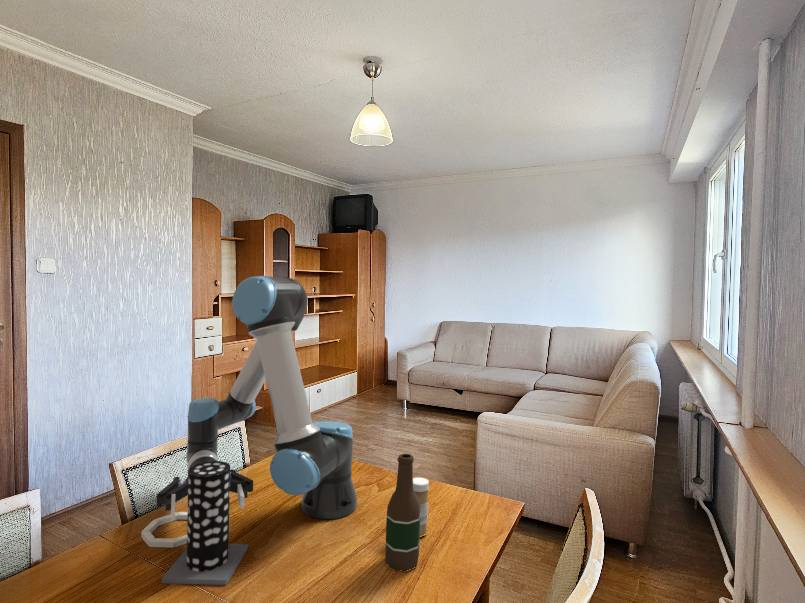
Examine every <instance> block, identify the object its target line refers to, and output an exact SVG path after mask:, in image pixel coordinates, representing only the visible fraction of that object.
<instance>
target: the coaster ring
mask: <svg viewBox="0 0 805 603" xmlns="http://www.w3.org/2000/svg"><path fill="white" fill-rule="evenodd" d="M187 517H188V511H179V512H178V511H175V520H171V513H169V514H166V515H164V516H161V517H158V518H155V519H153V520H152V521H151V522H150V523H149V524H148V525H146V527H145V528H144V529H142V530H141V533H140V534H141V535H140V536H141V539H142V540H143V541H144V542H145V544H146V545H147V546H148V547H150V548H170V549H171V548H177V547H179V546H180V547H181V546H183V545H187V534H185V535H181V536H179V537H175V538H158V537H155V536H154V535H153V532H154V531H155V530H156V529H157V528H158V527H159V526H162V525H165V524H168V523H171V522H175V521H177V520H185V521H186V520H187Z"/></svg>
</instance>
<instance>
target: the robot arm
mask: <svg viewBox="0 0 805 603" xmlns="http://www.w3.org/2000/svg"><path fill="white" fill-rule="evenodd" d="M308 301H309V300H308V293H307V291H306V289H305V287H304V286H303V284H301V282H299V281H298V280H296V279H294V278H291V277H285V276H282V277H279V276H278V277H277V276H268V275H259V276H250V277H248V278H246V279H244V280H242V281H240V283H239V284H238V285H237V287H236V289H235V290H234V292H233V296H232V301H231V302H232V303H231V304H232V310H233V313H234V316H235V317H236V318H237V319H238V320H239V321H240V322H241V323H242V324H245V325H246V328H247V332H248V335H249V336H251V337H253V338H255V340H256V341H255V344H254V345H253V347H252V349H251V351H250V352H249V355H248V356H247V359H246V361H245V363H244V365H243V366H242V368H241V370H240V372H239V374H238V376H237V378H236V380H235V381H234V384H233V385H232V388H231V389H230V391H229V393H228V395H227V397H226V398H225V399H223V400H220V401H218V399H216V398H213V397H203V398H195V399H193V400H191V401H190V402H189V405H188V411H187V448H186V449H187V450H186V457H185V458H186V463H187V471H188V470H189V469H190V468H191V467H192V466H194V465H196V464H199V463H203V462H209V461H219V458H218V437H219V430H222V429H224V428H226V427H227V428H228V427H230V426H232V425H235V424H239V423H241V422H243V421H246V420H247V419H248V418H250V417H252V416H253V415H254V414H255V412H256V406H257V405H256V398H257V397H258V395H259V393H260V391H261V389H262V387H263V386H264V384H265V382H266V385H267V390H268V394H269V399H270V403H271V407H272V408H271V409H272V411H273V416H274V420H275V425H276V430H277V435H276V436H275V439H274V440H273V445H274V450H275V454H274V455H273V456H272V458H271V461H270V463H269V472H270V473H269V474H270V476H271V479H272V481H273V483H274V484H275V485H276V487H277V488H278V489H279V490H282V491H283V492H284V493H285V494H288V495H290V496H302V498H301V510H302V512H303V513H304V514H305V515H307V516H309V517H311V518H315V519H318V520H334V519H340V518H343V517H347V516H348V515H350V514H352V513H354V512H355V511H356V509H357V507H358V497H357V496H358V495H357V493H356V488H355V485H354V482H353V479H352V474H353V473H352V471H353V470H352V469H353V442H354V437H353V436H354V435H353V427H352V426H351V425H350V424H348V423H345V422H341V421H331V420H330V421H329V420H324V421H323V420H322V421H314V422H313V420H312V416H311V414H312V413H311V411H310V407H309V402H308V398H307V393H306V390H305V385H304V381H303V376H302V373H301V368H300V365H299V360H298V356H297V351H296V348H295V343H294V339H293V334H292V333H294V332H297V330H298V329H299V327H300V325H301V324H302V322H303V319H304V317H305V315H306V312H307V308H308ZM253 491H254V480H253V479H252V478H249V477H247V476H245V475H242V474H240V473H239V472H237V471H236V470H235V469H230V493H235V494H236V497H237V501H238V504H239V508H240V509H245V499H247V498H248V493H253ZM186 496H187V497H188V476H187V477H186V478H185V479H182V478H180V476H175V477H173V479H172V481H171V482H170V483H169V484H167V485H166V486H165V487H164V488H162V489H161V490H160V491H159V492H158V493H156V502H155V503H156V504H155V505H156V507H162V506H163V505H164V510H165V511H166V512H167V511H170V514H171V520H175V513H176V503H177V502H179V501H181V500H183V499H184V498H185V497H186ZM175 521H176V520H175Z"/></svg>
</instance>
